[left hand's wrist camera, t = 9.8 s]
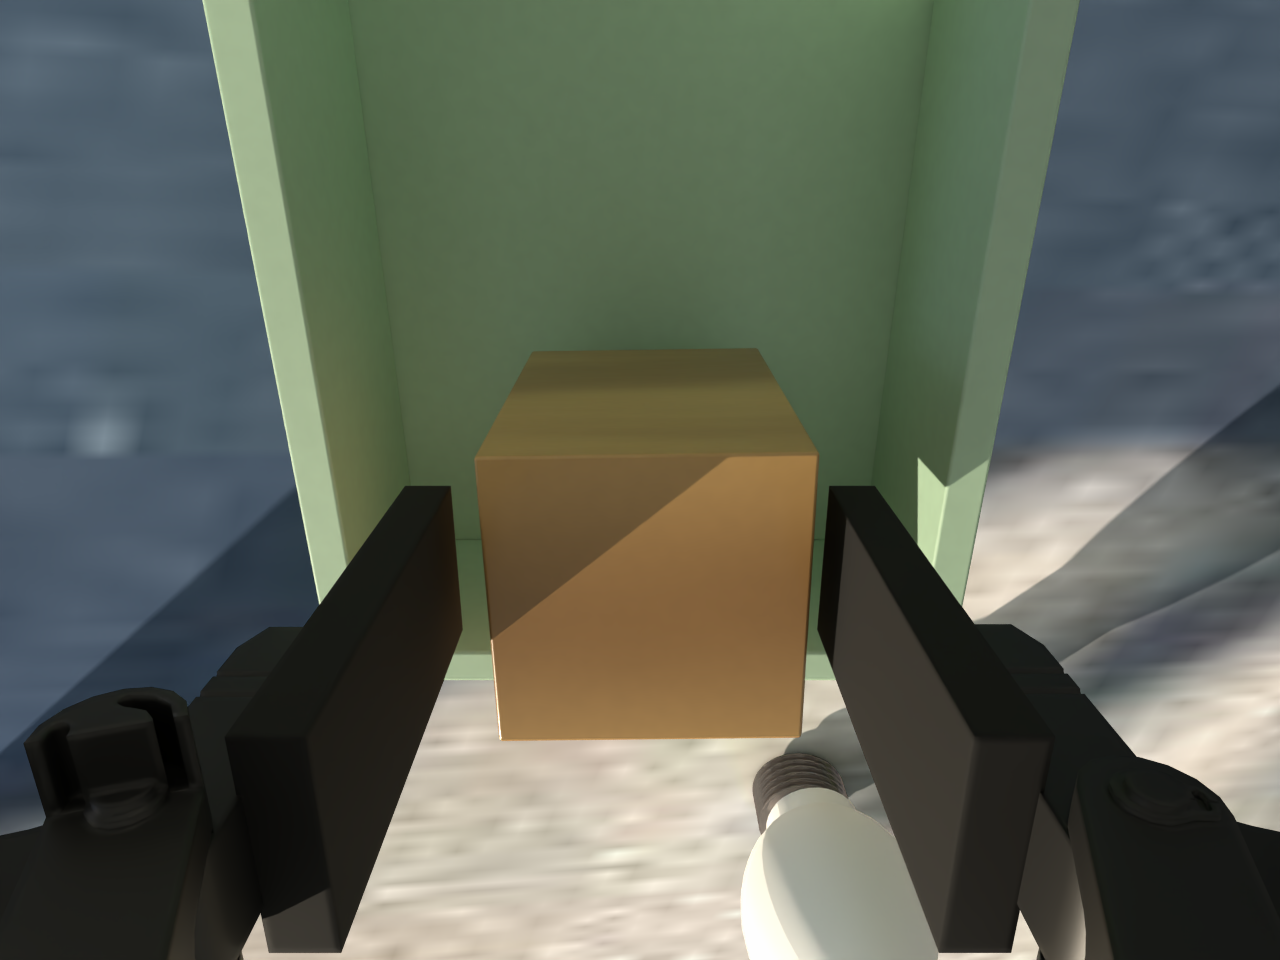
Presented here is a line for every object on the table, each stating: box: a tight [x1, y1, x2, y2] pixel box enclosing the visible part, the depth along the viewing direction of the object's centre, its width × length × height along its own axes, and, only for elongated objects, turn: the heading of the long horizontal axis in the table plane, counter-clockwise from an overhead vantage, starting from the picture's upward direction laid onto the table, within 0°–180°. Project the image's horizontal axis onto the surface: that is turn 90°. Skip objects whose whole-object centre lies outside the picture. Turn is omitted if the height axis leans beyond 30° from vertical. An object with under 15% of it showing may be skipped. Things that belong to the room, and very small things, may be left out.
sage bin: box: [203, 0, 1080, 680], centre depth 14 cm, size 14×23×11 cm, turn 0°
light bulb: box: [741, 753, 938, 960], centre depth 32 cm, size 7×7×11 cm
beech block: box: [474, 348, 819, 741], centre depth 16 cm, size 5×5×7 cm
